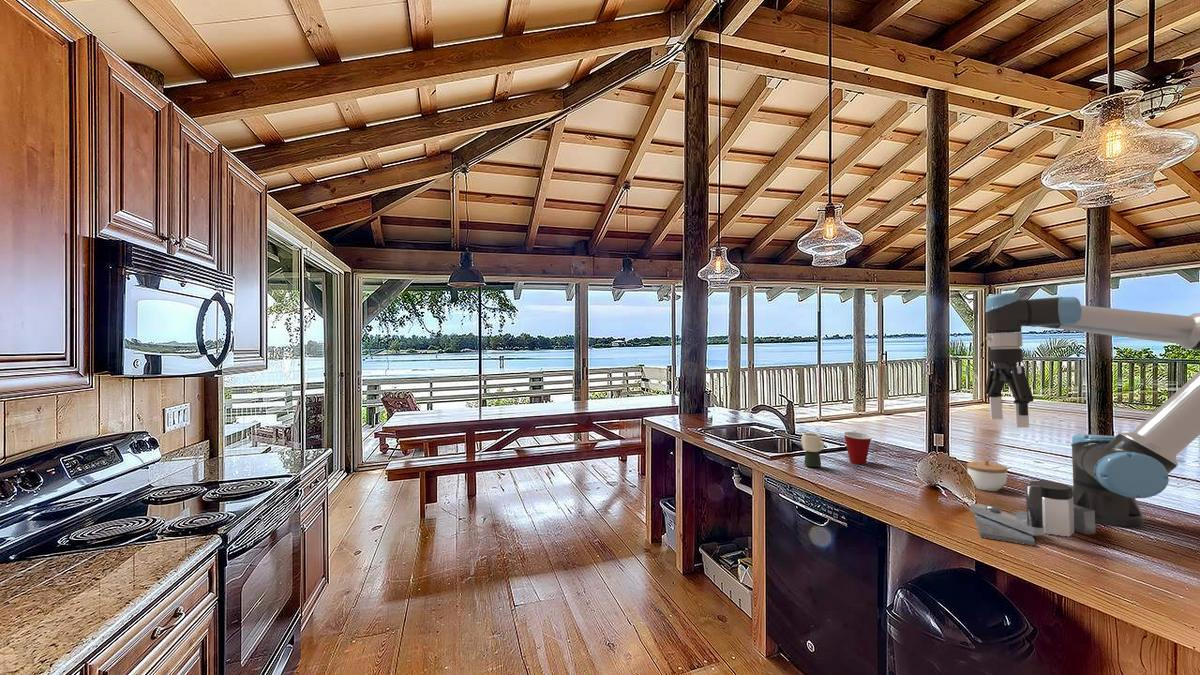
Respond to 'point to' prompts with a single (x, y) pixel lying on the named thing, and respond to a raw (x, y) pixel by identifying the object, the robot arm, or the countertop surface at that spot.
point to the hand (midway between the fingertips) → (1008, 423)
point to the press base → (1001, 530)
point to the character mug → (812, 448)
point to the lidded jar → (987, 475)
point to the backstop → (1084, 520)
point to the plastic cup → (857, 446)
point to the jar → (1057, 508)
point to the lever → (1018, 512)
